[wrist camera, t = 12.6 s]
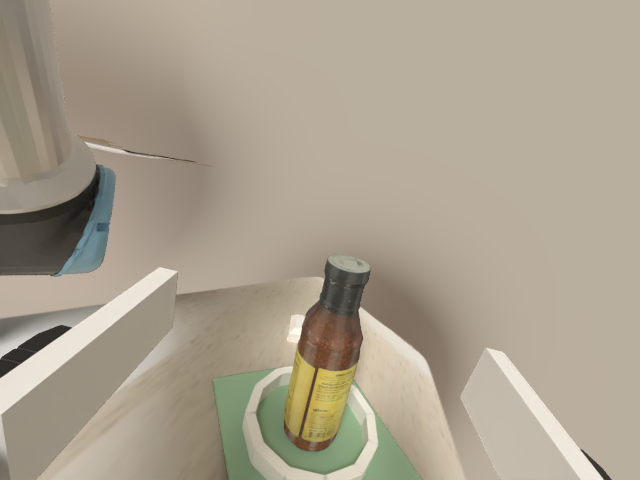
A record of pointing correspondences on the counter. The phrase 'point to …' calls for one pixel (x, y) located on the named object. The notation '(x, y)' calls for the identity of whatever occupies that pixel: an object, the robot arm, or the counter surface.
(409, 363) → the counter surface
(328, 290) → the sauce bottle
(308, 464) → the putting mat
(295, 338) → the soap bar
